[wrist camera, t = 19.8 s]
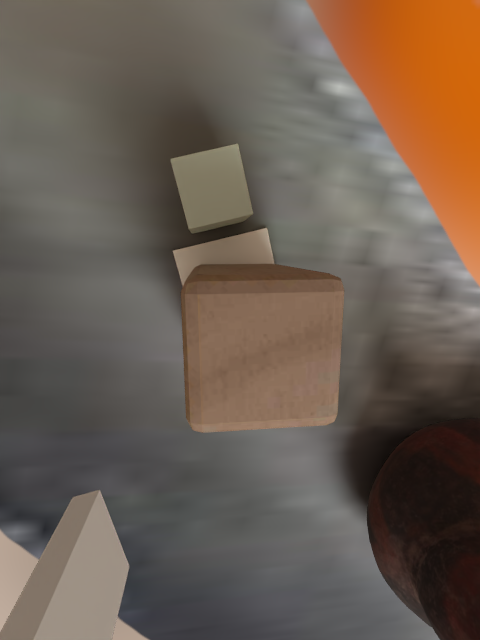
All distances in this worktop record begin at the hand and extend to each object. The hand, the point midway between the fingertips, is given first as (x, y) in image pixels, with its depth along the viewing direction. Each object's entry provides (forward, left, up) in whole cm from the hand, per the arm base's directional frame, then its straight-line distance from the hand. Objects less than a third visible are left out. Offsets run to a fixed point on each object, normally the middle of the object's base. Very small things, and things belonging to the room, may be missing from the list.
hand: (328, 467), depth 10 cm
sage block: (-12, 0, -31) cm, 33 cm away
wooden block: (0, 0, -30) cm, 31 cm away
